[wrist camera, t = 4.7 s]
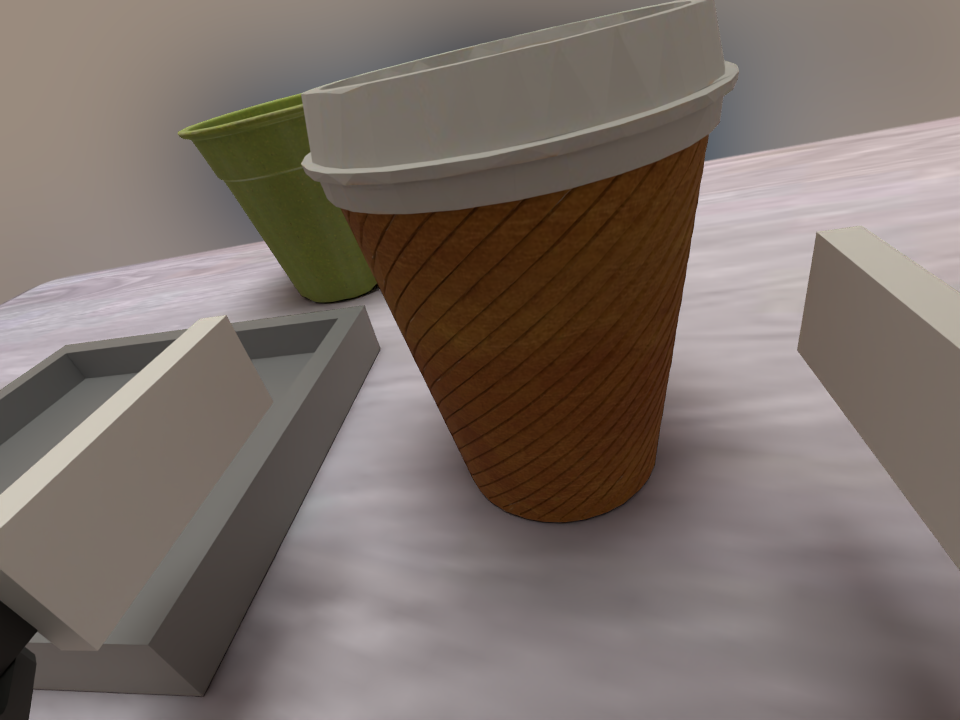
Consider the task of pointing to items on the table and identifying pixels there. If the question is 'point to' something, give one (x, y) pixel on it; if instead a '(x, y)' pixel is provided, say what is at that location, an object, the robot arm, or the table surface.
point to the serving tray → (225, 511)
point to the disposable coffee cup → (535, 236)
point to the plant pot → (285, 196)
